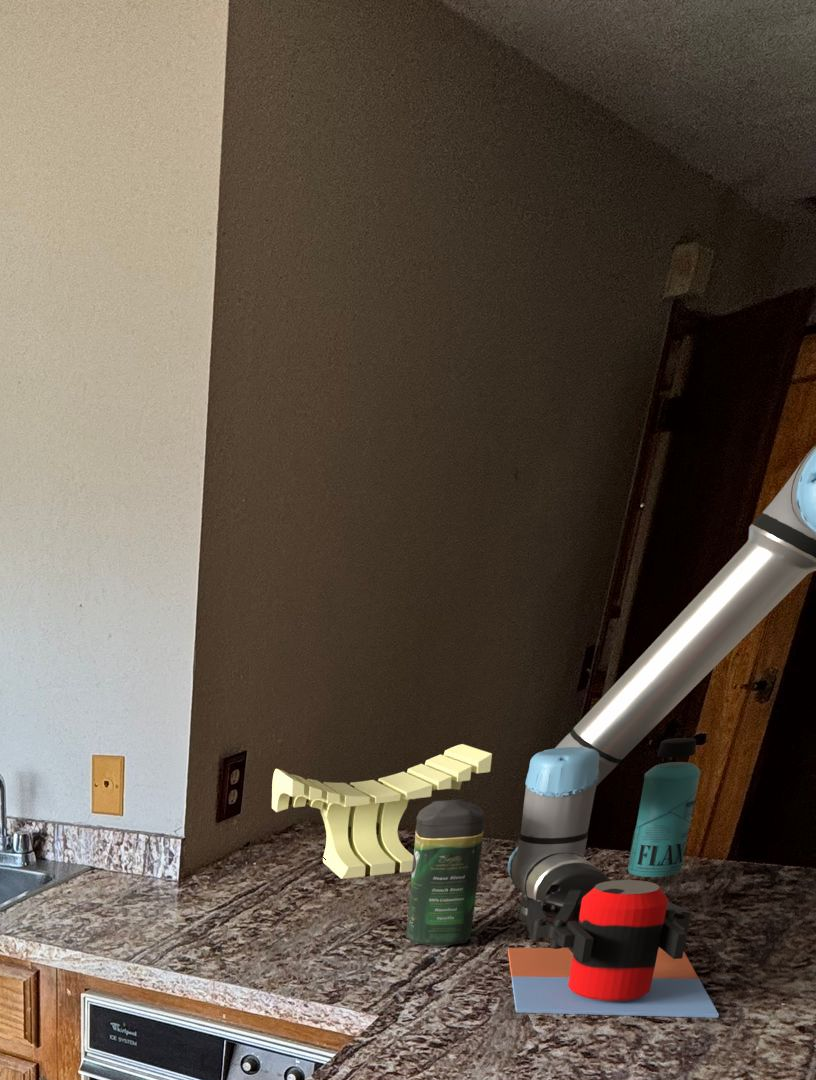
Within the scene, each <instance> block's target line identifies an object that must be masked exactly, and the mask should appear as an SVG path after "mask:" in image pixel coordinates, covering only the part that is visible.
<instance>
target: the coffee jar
mask: <svg viewBox="0 0 816 1080" xmlns="http://www.w3.org/2000/svg"><path fill="white" fill-rule="evenodd" d="M415 825H416V826H415V833H414V846H413V866H412V871H411V879H410V889H409V901H408V911H407V919H406V920H407V921H406V922H407V923H406V936H407V938H408V940H409V942H411V943H413V944H415V945H424V946H430V947H431V948H432V947H433V948H434V947H435V948H439V947H440V948H444V947H449V946H452V945H458V944H465V943H467V942H468V941H469V940H470V939H471V936H472V929H473V921H474V914H475V905H476V897H477V891H478V884H479V883H478V882H479V876H480V868H481V858H482V850H483V849H482V848H483V840H484V839H483V838H484V830H485V812H484V810H483V809H482V808H481V807H480V806H478V805H476V804H474V803H471V802H469V801H468V800H467V799H447V800H434V801H432V802H431V803H430V804H429V805H426V806H425V807H423V808H422V809H420V810H419V811H418V814H417V816H416V823H415Z"/></svg>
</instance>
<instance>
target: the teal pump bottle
mask: <svg viewBox="0 0 816 1080" xmlns="http://www.w3.org/2000/svg"><path fill="white" fill-rule="evenodd" d="M696 748H697V739H696V738H692V737H679V738H678V737H676V738H668V739H664V740H662V741H661V742H660V744H659V748H658V751H657V753H656V754H657V757H659V758H665V759H666V758H668V759H669V758H671V759H673V758H685V757H691V756H694V755H696V751H697V749H696ZM701 774H702V770H701V769H700V768H699V767H698V766H696V765H695V763H692V762H686V761H674V762H673V761H671V762H664V763H663V762H662V763H659V764H656V765H654V766H653V767H651V768H650V769H649V770H648V771H646V772H645V773H644V776H643V778H644V781H643V785H642V791H641V796H640V802H639V809H638V813H637V820H636V825H635V829H634V832H633V837H632V841H631V846H630V850H629V851H630V853H629V856H628V860H627V866H626V868H627V870H628V873H629V874H630V875H633V876H636V877H645V878H661V877H662V878H663V877H670V876H675V875H677V874H679V873H680V872H681V870H682V868H683V866H684V865H685V861H684V860H685V858H686V857H685V856H686V854H687V849H688V840H689V838H690V837H689V836H690V834H691V828H690V826H691V824H692V818H693V816H694V814H695V809H696V803H697V795H698V785H699V781H700V776H701Z"/></svg>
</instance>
